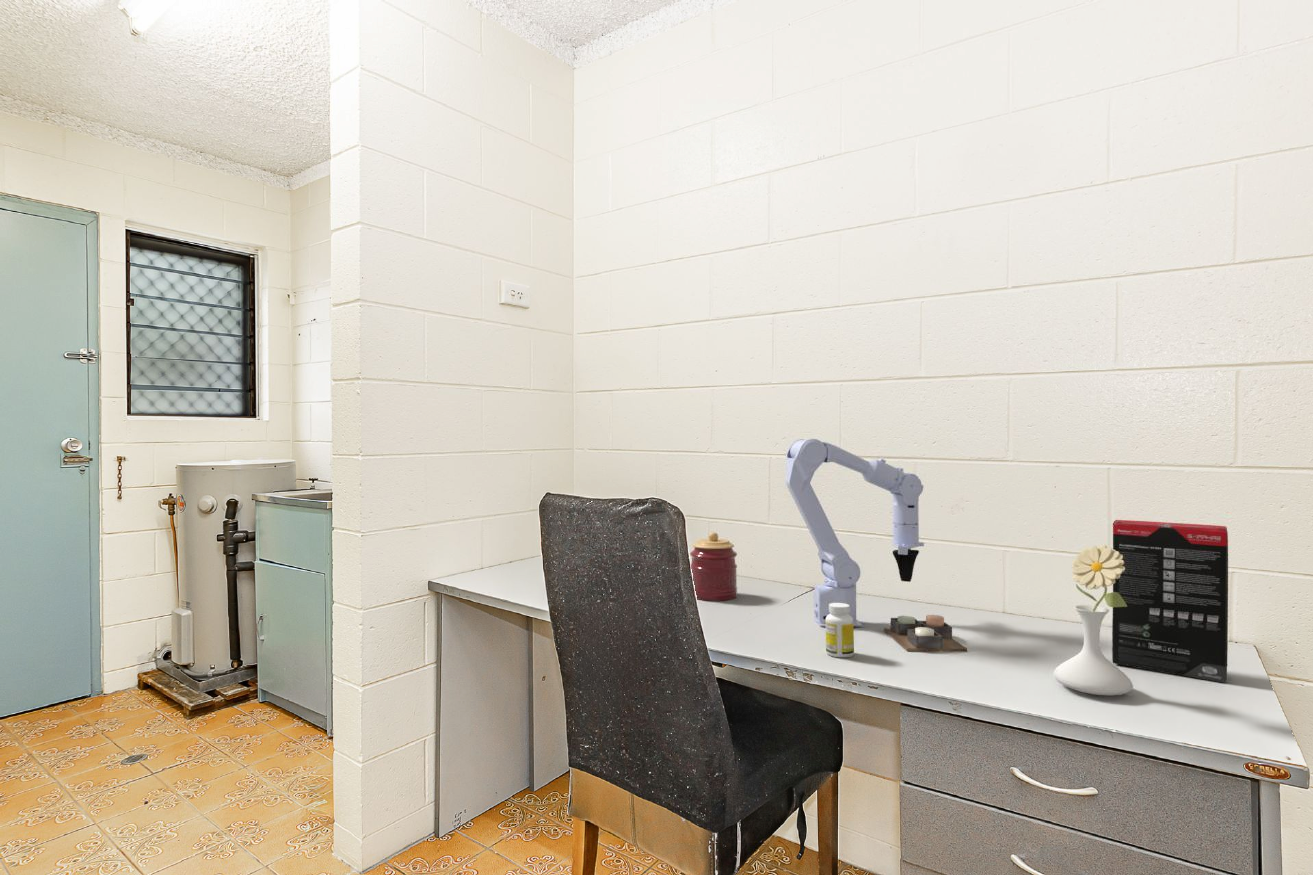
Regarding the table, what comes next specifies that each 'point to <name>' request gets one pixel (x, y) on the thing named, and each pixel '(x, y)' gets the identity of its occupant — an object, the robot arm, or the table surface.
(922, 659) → the table surface
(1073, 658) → the flower in vase
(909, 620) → the sage button
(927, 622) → the terracotta button
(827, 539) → the robot arm
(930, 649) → the button panel
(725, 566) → the canister
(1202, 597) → the graphics card box
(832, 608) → the supplement bottle
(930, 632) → the cream button
